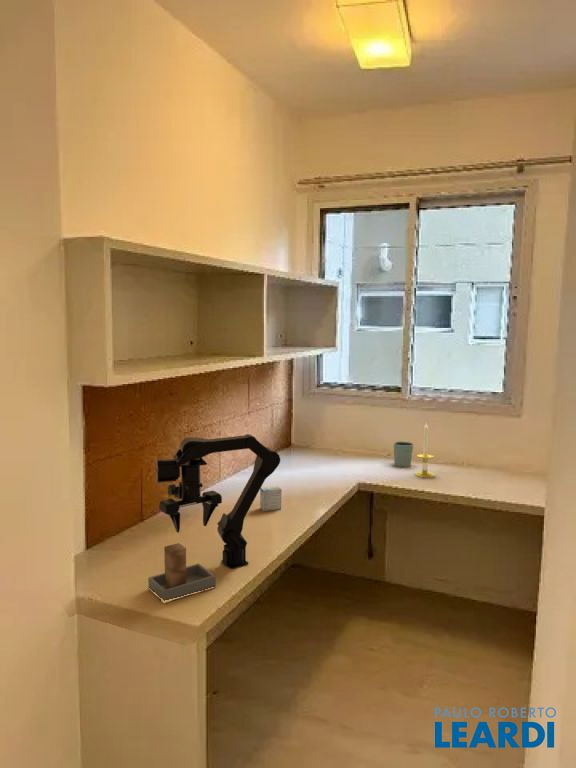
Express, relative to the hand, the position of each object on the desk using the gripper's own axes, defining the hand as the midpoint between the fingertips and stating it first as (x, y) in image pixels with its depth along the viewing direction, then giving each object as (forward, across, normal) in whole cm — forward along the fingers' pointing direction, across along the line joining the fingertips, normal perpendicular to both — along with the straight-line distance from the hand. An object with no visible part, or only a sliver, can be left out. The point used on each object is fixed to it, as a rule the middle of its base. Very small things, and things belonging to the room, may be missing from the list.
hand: (191, 529), depth 174 cm
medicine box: (+13, -52, -32) cm, 63 cm away
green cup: (+13, -149, -48) cm, 157 cm away
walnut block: (+12, +10, +10) cm, 18 cm away
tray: (+13, +8, +10) cm, 18 cm away
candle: (+13, -144, -29) cm, 148 cm away
